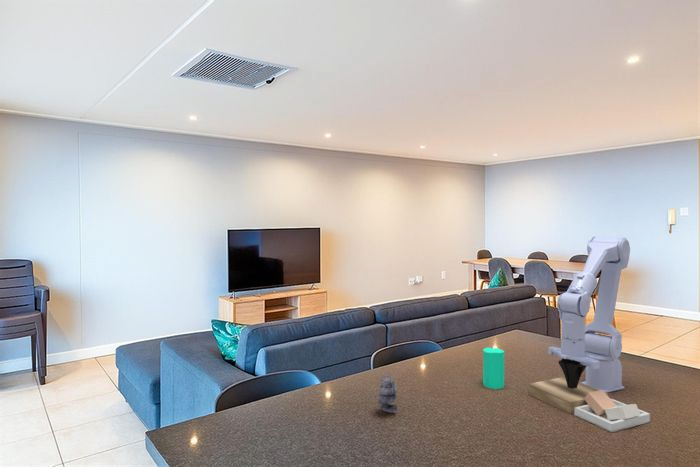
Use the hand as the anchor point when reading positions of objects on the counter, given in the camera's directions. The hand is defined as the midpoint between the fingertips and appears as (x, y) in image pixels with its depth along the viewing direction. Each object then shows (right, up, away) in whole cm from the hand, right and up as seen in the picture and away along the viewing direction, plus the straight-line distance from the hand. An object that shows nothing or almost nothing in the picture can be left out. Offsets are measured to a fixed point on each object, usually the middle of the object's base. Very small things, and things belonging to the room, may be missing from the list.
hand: (572, 387), depth 122 cm
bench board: (-1, -4, +2) cm, 4 cm away
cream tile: (+6, -1, -12) cm, 13 cm away
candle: (-17, -4, +12) cm, 22 cm away
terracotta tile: (+3, -2, -7) cm, 8 cm away
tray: (+5, -4, -10) cm, 12 cm away
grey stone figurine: (-51, -4, -7) cm, 51 cm away
